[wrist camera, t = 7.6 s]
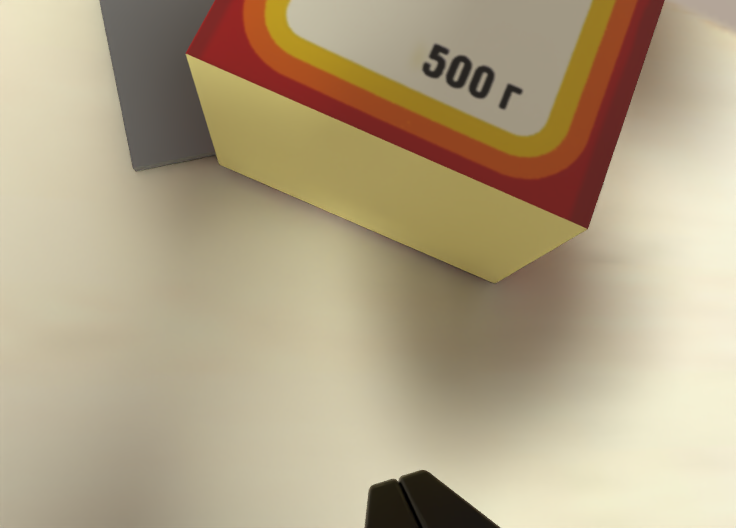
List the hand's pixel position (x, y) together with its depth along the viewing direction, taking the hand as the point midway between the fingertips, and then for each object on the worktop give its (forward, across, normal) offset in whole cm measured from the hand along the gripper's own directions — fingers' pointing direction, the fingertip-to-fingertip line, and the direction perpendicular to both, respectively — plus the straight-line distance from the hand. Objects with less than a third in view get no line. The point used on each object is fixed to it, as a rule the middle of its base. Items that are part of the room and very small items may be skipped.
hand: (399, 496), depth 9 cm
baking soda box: (+9, +2, 0) cm, 9 cm away
